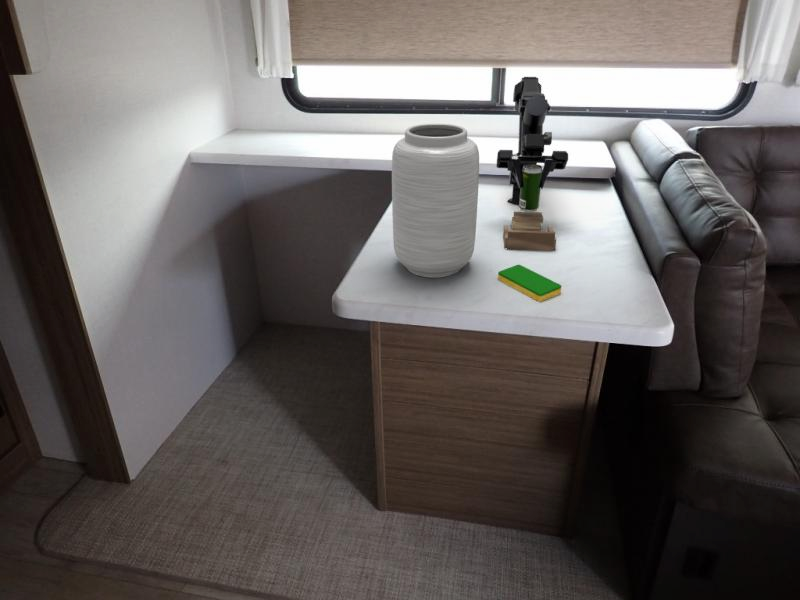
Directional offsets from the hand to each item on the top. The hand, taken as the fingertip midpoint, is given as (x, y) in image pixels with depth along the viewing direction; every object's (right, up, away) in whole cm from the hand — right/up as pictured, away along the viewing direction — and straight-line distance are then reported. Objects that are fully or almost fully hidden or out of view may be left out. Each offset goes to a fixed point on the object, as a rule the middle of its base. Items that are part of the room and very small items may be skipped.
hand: (531, 187), depth 155 cm
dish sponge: (-5, -28, -20) cm, 35 cm away
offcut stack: (+1, -10, +9) cm, 14 cm away
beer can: (0, -5, +5) cm, 7 cm away
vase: (-27, -22, -10) cm, 36 cm away
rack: (-1, -15, +1) cm, 15 cm away
